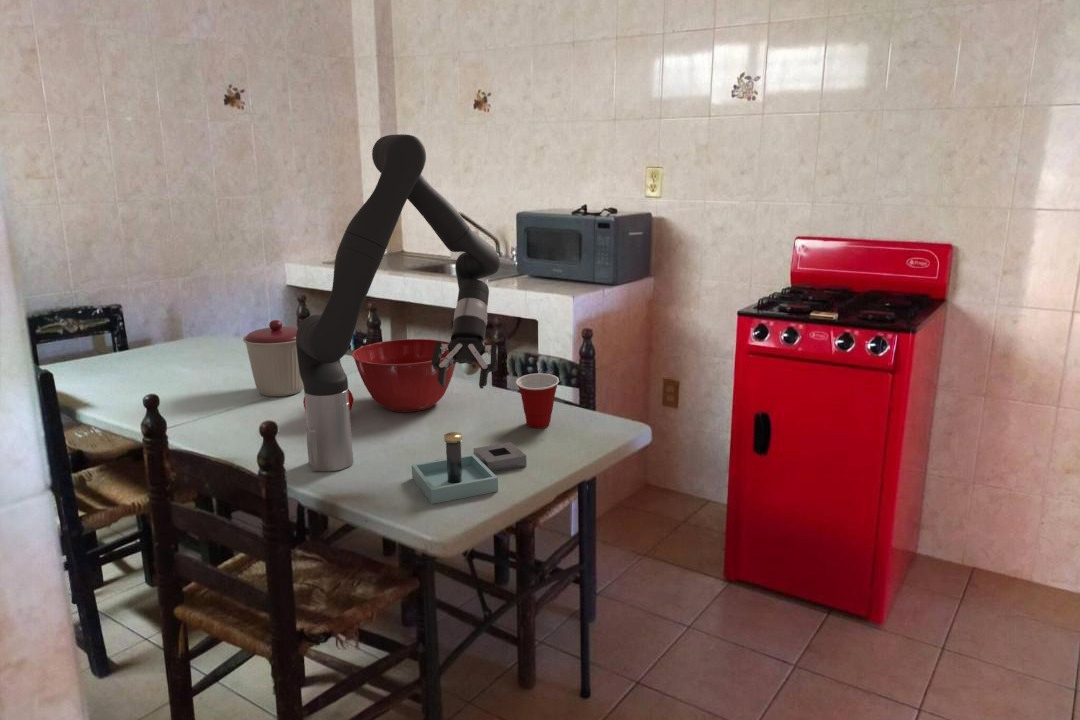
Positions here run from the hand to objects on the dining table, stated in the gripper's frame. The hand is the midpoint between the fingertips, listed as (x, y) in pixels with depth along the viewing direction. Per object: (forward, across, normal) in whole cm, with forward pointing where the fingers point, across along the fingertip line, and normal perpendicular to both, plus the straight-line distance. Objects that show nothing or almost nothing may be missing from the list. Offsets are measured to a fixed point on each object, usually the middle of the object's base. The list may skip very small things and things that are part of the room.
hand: (461, 386), depth 171 cm
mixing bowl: (-14, -22, +41) cm, 49 cm away
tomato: (-4, -39, +31) cm, 50 cm away
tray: (+21, 0, +4) cm, 21 cm away
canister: (-20, -62, +48) cm, 80 cm away
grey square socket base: (+12, +8, +13) cm, 19 cm away
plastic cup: (-5, +14, +31) cm, 35 cm away
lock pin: (+20, 0, +3) cm, 21 cm away
